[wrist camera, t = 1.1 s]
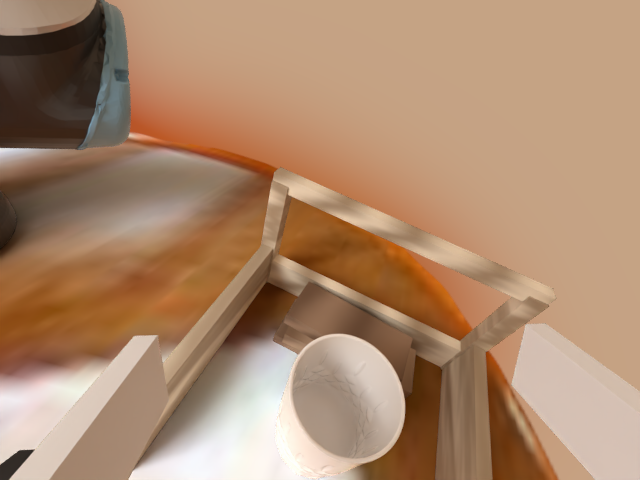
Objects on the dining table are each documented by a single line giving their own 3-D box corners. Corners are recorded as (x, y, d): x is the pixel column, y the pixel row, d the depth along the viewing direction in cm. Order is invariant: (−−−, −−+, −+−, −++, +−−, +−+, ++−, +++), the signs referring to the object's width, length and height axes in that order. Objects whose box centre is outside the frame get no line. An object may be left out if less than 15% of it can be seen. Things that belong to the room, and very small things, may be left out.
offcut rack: (115, 461, 22) (36, 384, 12) (262, 268, 37) (281, 166, 28) (444, 658, 19) (699, 772, 9) (454, 362, 35) (552, 286, 25)
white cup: (294, 368, 30) (319, 315, 23) (366, 410, 29) (414, 366, 22) (249, 455, 24) (264, 417, 17) (337, 511, 23) (390, 493, 16)
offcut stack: (270, 344, 31) (277, 320, 28) (295, 303, 36) (303, 278, 32) (396, 411, 30) (418, 394, 26) (405, 359, 34) (426, 339, 31)
